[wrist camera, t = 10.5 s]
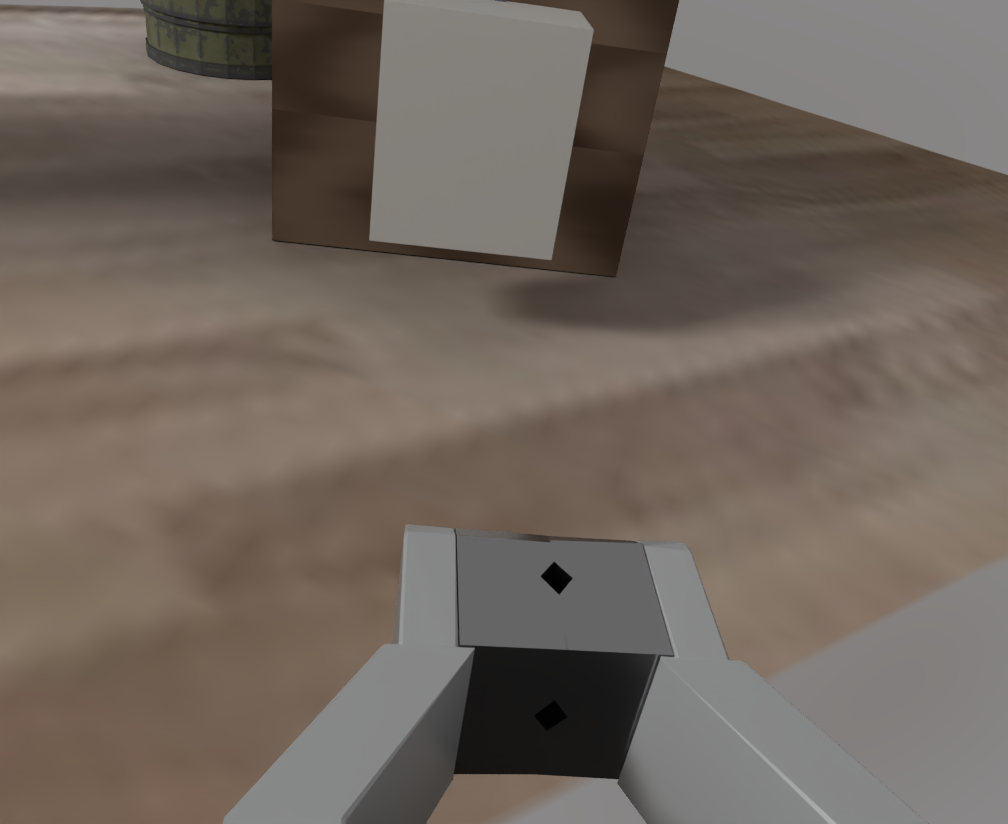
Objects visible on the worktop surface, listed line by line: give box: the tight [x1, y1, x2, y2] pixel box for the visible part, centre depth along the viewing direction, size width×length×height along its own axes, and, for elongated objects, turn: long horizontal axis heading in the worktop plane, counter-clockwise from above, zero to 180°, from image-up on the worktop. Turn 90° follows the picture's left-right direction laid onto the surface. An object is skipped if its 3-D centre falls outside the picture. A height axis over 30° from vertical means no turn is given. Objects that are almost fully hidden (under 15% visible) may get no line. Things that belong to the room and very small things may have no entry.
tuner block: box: [272, 0, 679, 277], centre depth 33 cm, size 12×12×12 cm
